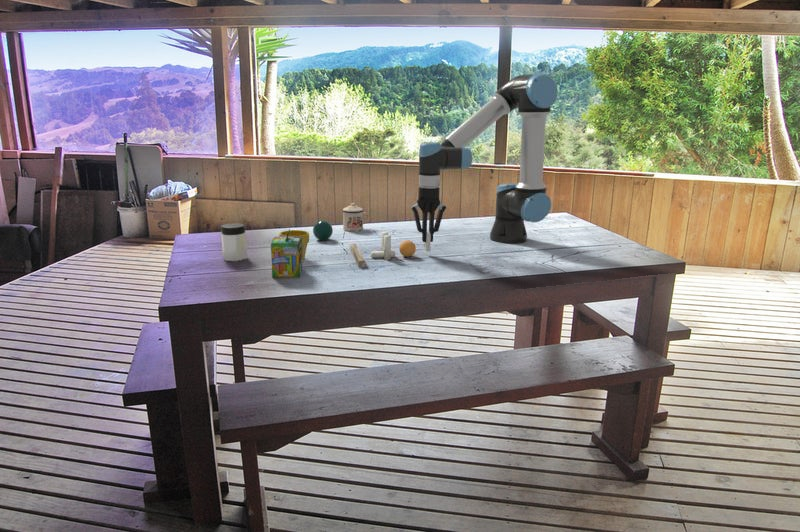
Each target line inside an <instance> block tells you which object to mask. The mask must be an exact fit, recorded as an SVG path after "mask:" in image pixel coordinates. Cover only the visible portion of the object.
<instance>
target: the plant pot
mask: <svg viewBox="0 0 800 532" xmlns="http://www.w3.org/2000/svg"><path fill="white" fill-rule="evenodd" d="M287 233H288V230H283V231H280V232H279V233H278V234H279V235H278V237H287ZM288 237H302V260H303V261H304V260H305V258H306V252H307V247H308V244H309V243H310V232H308V231H306V230H301V229H290V231H289V236H288Z"/></svg>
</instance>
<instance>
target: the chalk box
mask: <svg viewBox="0 0 800 532" xmlns="http://www.w3.org/2000/svg"><path fill="white" fill-rule="evenodd" d="M290 230H291V229H290V228H289V229H288V230H287V231H288V233H287V237H279V236H274V237H273V239H272V241H271V243H270V253H271V254H270V255H271V258H270V259H271V278H273V279H274V278H301V275H302V272H303V261H302V237H288V236H289V231H290Z"/></svg>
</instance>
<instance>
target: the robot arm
mask: <svg viewBox="0 0 800 532" xmlns="http://www.w3.org/2000/svg"><path fill="white" fill-rule="evenodd" d="M558 94H559V90H558V85H557V83H556V81H555V80H554V79H553V78H552V76H550V75H548V74H545V73H544V74H543V73H534V74H522V75H521V74H519V75H516V76H515V77H513V78H511V79H510V80H509V81H507V82H506V83H504V84H503V85H502V86H500V87H499V89H497V90H496V91H495V92H494V93H493V94H492V95H491V99H489V100H488V101H487V102H486V103H485V104H484V105H483V106H481V107H480V108H479V109H478V110H477V111H475V112H474V113H473V114H472V115H471V116H470V117H468V118H467V119H466V120H465V121H464V122H463V123H462V124H461V125H459V126H458V127H456V128H455V130H453V131H452V132H451V133H450V134H449V135H447V136H446V137H445V138H443V139H442V140H441V141H440V142H435V141H434V142H431V141H430V142H421V143H420V145H419V153H418V154H419V155H418V160H419V161H418V162H419V163H418V165H419V166H418V167H419V168H418V186H419V187H418V196H417V197H418V198H417V201H416V203H415V204H413V205H410V209H411V211H412V212H413V217H414V221H415V224H416V225H415V226H416V230H417V232H419V233H421V238H422V239H421V241H422V242H423V243H424V251H425V252H431V243H432V242H433V241H434V234H435V233H437V232H439V230H440V225H441V224H442V223H441V222H442V218H443V215H444V212H445V210H446V209H447V206H446V205H444V204H442V203H441V200H440V182H441V170H464V169H469V168H470V167H471V166H472V163H473V152H472V150H471V149H470V148H468V147H467V146H468V145H470V144H471V143H472V142H473V141H474V140H475V139H477V138H478V137H479V136H480V135H482V133H484V132H485V131H487V129H488V128H490V127H491V126H492V125H493V124H494V123H495V122H497V121H498V120H499V119H500V118H502V116H504V115H509V114H510V113H511V112H513V111H515V110H516V109H518V111H517V112H518V115H520V116H521V139H520V158H519V159H520V164H519V181H518V183H505V184H499V185H498V186H497V189H496V193H495V194H496V200H495V201H496V202H495V217H494V218H495V220H494V222H493V225H492V227H491V230H490V232H489V233H490V234H489V239H490V240H491V241H494V242H499V243H505V244H517V243H524V242H526V241H527V239H528V233H527V230H526V229H527V228H526V225H525V222H529V223H539V222H541V221H543V220H544V219H545V218H547V216H548V215H549V214H550V211H551V208H552V200H551V198H550V197H549V195H548V194H547V185H546V184H545V183H544V182H543V179H544V178H543V176H544V160H545V141H546V123H547V121H546V119H547V117H548V116H549V115H550V114H551V106H553V105H554V104H555V102H556V100H557V98H558ZM419 209H420V210H421V211H422V212H421V213H422V215H421V216H422V217H421V218H422V219H421V218H420V215H419ZM437 209H438V211H437V214H436V213H435V212H436V210H437ZM435 214H436V219H435ZM428 216H429V218H428ZM421 221H422V222H421Z"/></svg>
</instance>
